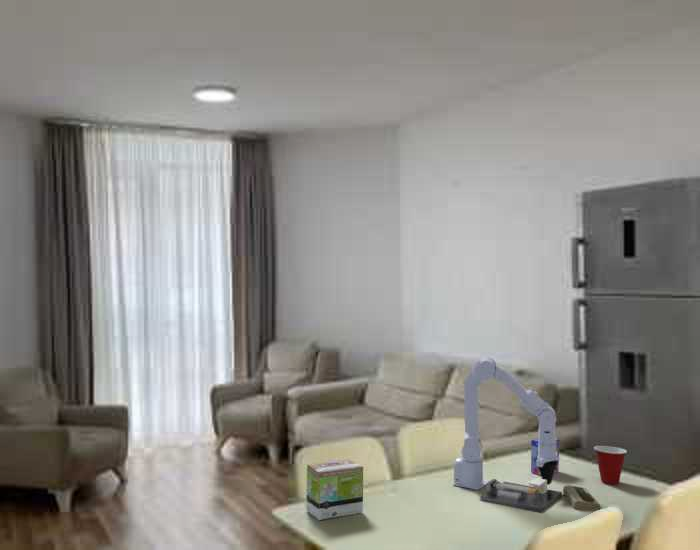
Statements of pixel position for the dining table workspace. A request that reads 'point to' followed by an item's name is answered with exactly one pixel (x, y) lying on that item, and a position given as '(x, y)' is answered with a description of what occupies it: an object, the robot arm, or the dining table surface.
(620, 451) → the plastic cup
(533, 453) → the ink cartridge box
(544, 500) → the base
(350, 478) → the tea box
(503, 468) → the dining table surface
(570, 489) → the computer
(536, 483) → the block
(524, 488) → the grey flat bar
